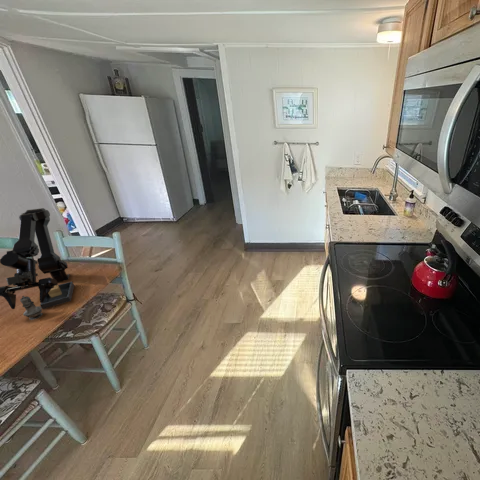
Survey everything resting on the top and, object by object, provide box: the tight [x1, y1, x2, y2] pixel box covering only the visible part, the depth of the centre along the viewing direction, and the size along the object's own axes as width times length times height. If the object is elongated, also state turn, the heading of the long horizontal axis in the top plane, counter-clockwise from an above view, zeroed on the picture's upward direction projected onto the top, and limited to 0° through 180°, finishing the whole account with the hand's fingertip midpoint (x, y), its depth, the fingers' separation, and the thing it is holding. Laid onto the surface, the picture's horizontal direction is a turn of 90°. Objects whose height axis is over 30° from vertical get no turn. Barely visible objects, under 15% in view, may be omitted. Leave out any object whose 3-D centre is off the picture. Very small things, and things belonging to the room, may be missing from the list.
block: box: [48, 284, 62, 298], centre depth 131 cm, size 4×4×4 cm
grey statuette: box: [19, 295, 44, 321], centre depth 116 cm, size 6×6×12 cm
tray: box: [39, 281, 75, 310], centre depth 130 cm, size 15×10×3 cm, turn 35°
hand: (27, 305), depth 115 cm, fingers open, 9 cm apart
